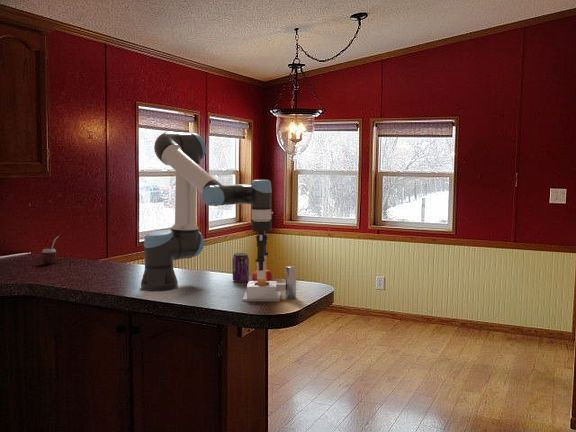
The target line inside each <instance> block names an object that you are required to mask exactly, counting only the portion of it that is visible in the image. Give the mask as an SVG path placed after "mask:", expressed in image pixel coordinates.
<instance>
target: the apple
mask: <svg viewBox="0 0 576 432" xmlns="http://www.w3.org/2000/svg"><path fill="white" fill-rule="evenodd" d="M272 274H273V273H272V271H271V270H269V269H266V281H273V280H272V279H273V275H272ZM251 281H257V269H256V270H254V271H253V273H252V275H251Z"/></svg>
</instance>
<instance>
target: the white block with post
mask: <svg viewBox="0 0 576 432" xmlns="http://www.w3.org/2000/svg"><path fill="white" fill-rule="evenodd" d="M282 292H285V299H286V300H295V299H297V266H294V265H289V266H288V265H287V266H285V282H278V281H277V280H271V281H267V285H257V281H253V280H248V282H247V286H246V291H244V294H243V297H242V302H281V296H282V295H281V293H282Z"/></svg>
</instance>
